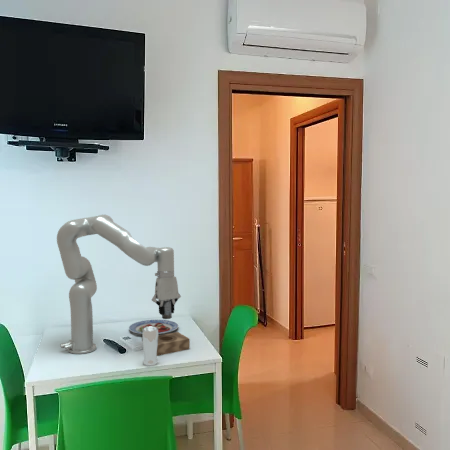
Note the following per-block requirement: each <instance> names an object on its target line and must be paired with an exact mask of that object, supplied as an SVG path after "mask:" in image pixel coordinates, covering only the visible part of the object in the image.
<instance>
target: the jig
mask: <svg viewBox="0 0 450 450" xmlns="http://www.w3.org/2000/svg"><path fill="white" fill-rule="evenodd" d="M158 336H159V341H158V348H157V357H159V356H163V355H169V354H172V353H173V354H174V353H178V352H183V351H188V350H190V345H191V343H190V341H191V340H190V337H187V336H186V335H184V334H183V333H180V332H179V331H176V332H174V331H173V332H168V333H164V334H159V335H158Z"/></svg>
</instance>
